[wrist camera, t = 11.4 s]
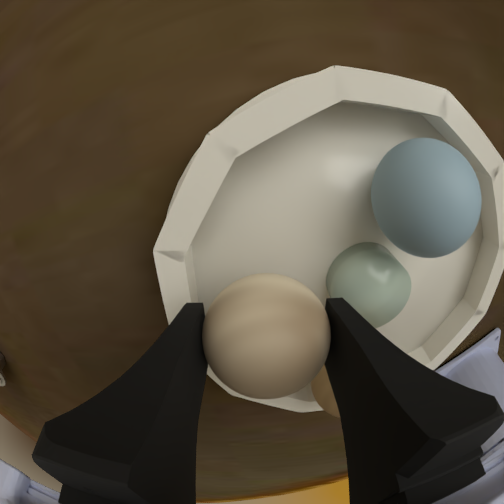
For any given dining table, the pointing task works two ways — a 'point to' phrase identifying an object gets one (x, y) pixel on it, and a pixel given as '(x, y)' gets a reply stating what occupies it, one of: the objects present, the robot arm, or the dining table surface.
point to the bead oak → (324, 393)
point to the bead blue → (426, 197)
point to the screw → (0, 363)
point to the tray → (332, 211)
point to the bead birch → (266, 336)
